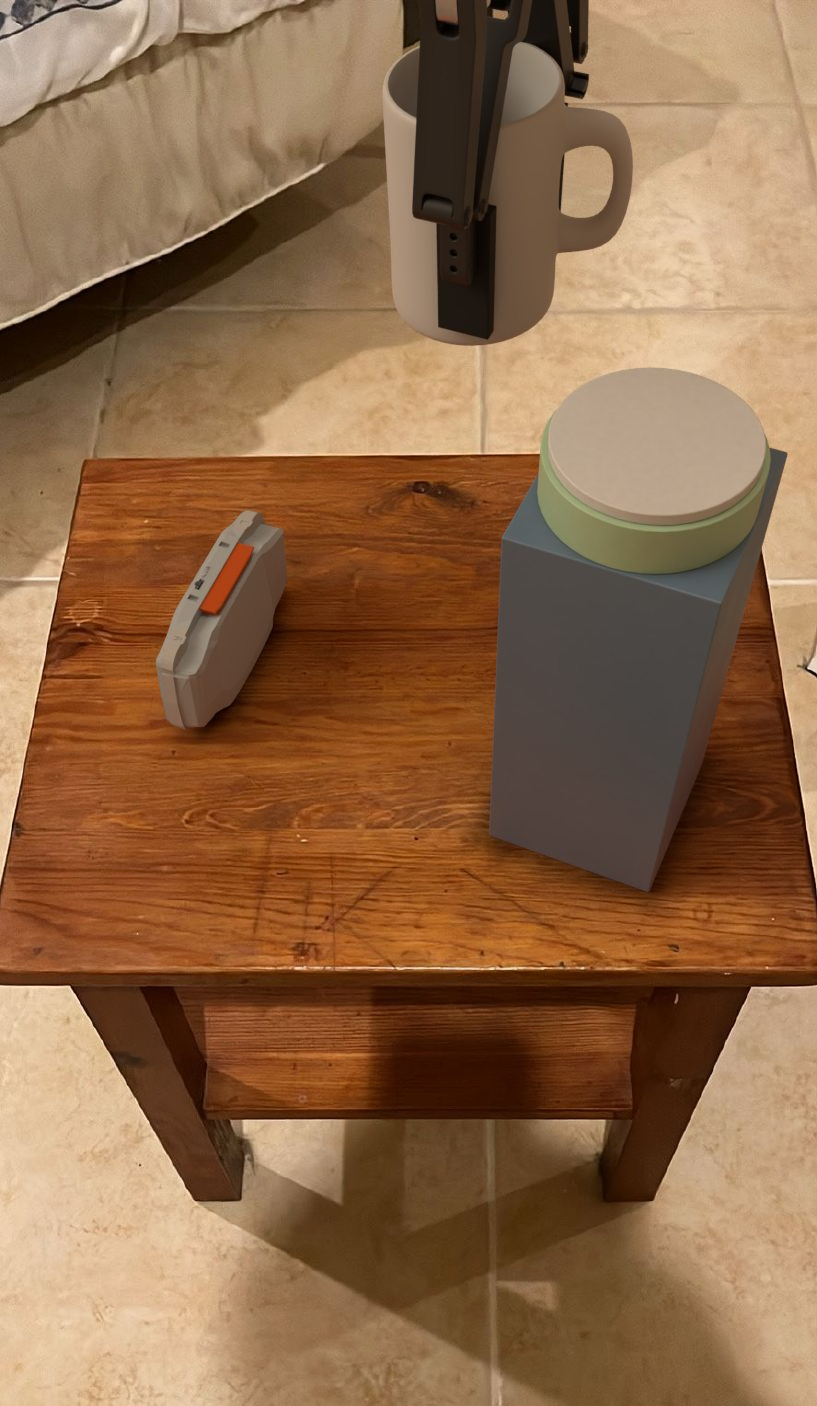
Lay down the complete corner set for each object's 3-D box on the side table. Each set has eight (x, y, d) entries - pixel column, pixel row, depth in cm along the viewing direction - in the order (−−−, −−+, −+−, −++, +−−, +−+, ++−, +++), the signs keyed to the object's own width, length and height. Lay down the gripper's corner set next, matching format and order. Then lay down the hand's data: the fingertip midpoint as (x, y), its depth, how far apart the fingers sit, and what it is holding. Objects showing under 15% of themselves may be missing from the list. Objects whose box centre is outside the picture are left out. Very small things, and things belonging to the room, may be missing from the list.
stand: (702, 763, 80) (788, 451, 59) (648, 893, 75) (722, 603, 55) (549, 713, 82) (581, 395, 62) (488, 835, 78) (500, 537, 57)
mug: (390, 349, 67) (377, 135, 58) (395, 249, 72) (383, 34, 62) (624, 344, 67) (650, 127, 57) (615, 243, 71) (637, 26, 62)
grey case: (259, 579, 89) (242, 488, 82) (298, 589, 88) (285, 499, 81) (168, 741, 82) (141, 656, 75) (210, 753, 81) (188, 669, 75)
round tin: (785, 452, 59) (801, 395, 57) (720, 601, 55) (734, 547, 52) (582, 397, 62) (588, 340, 59) (503, 536, 57) (506, 481, 54)
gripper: (527, -394, 54) (510, 152, 73) (295, -181, 44) (346, 384, 64) (703, -375, 52) (637, 180, 72) (501, -149, 42) (488, 423, 62)
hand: (500, 275), depth 68 cm, fingers closed on mug, 8 cm apart
